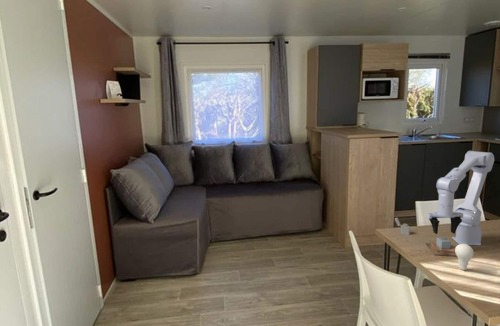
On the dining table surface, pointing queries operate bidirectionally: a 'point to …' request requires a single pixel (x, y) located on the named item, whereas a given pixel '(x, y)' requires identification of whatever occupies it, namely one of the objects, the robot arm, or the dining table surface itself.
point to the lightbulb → (463, 255)
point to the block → (443, 243)
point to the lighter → (403, 227)
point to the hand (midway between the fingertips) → (444, 232)
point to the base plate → (441, 250)
